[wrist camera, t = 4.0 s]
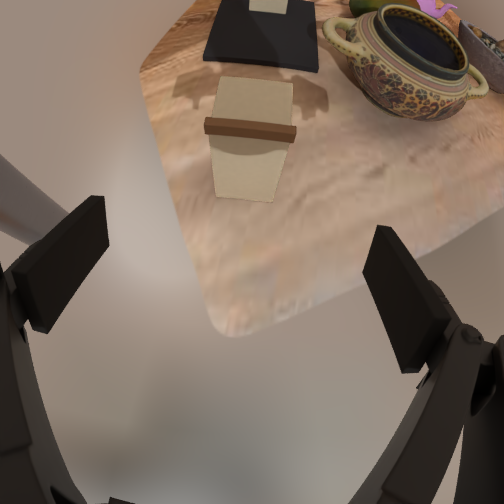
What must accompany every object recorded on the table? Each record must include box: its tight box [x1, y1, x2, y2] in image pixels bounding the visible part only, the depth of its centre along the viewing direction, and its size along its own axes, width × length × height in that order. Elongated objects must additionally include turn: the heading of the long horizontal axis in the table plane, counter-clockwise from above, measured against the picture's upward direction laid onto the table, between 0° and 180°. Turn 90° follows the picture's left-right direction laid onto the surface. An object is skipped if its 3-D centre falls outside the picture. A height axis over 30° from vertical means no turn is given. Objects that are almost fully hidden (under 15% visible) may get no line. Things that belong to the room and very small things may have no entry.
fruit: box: [349, 0, 421, 18], centre depth 39 cm, size 12×13×10 cm
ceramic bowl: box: [322, 3, 489, 121], centre depth 33 cm, size 24×18×15 cm
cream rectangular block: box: [204, 76, 296, 203], centre depth 28 cm, size 6×6×13 cm
